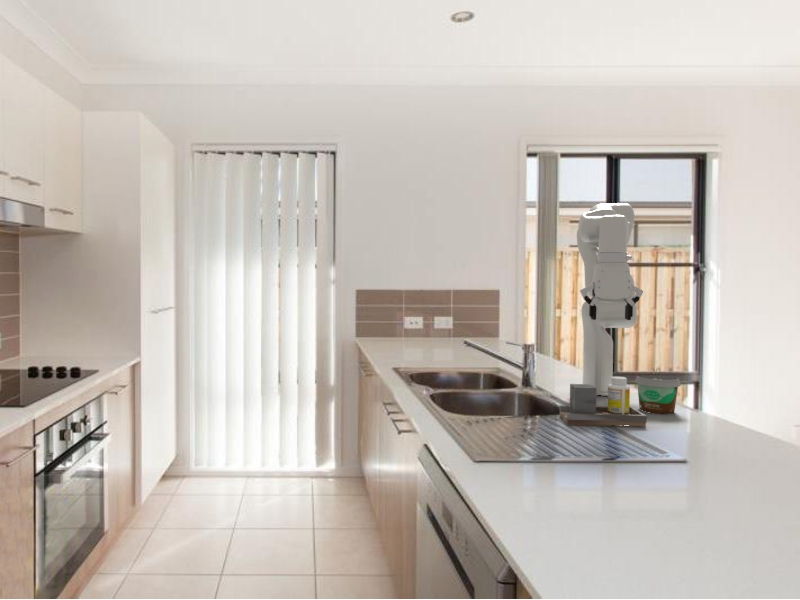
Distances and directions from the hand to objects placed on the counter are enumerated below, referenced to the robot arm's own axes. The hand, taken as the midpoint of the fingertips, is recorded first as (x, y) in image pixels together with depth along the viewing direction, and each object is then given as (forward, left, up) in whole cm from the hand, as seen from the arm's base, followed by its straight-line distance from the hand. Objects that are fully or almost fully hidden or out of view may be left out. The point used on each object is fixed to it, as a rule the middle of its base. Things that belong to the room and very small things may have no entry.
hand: (610, 319), depth 171 cm
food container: (-2, +14, -27) cm, 31 cm away
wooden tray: (+11, -5, -27) cm, 29 cm away
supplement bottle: (+11, -1, -25) cm, 28 cm away
